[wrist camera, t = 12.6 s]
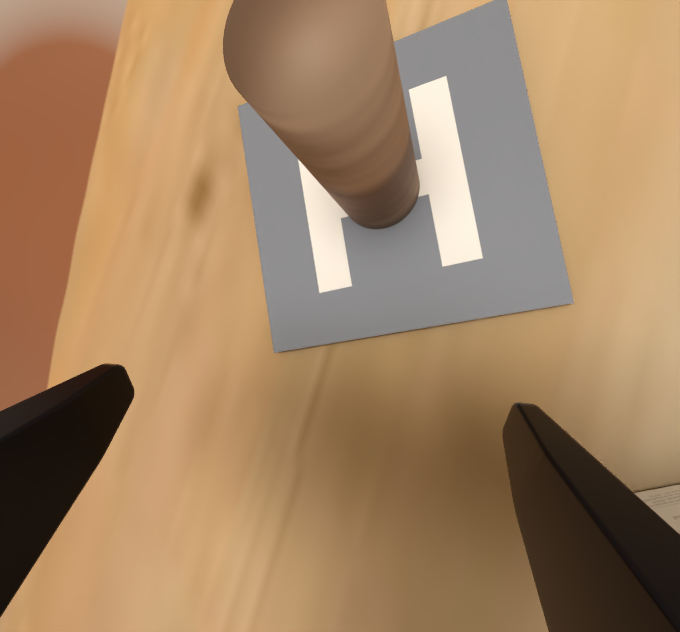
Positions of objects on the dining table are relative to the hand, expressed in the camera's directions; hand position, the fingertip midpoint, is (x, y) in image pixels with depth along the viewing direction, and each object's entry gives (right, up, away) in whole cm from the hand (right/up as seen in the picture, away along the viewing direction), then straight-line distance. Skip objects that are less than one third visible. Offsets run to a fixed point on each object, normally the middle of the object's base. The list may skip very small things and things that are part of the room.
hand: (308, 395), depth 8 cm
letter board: (+3, +9, +12) cm, 15 cm away
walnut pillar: (+3, +9, +11) cm, 15 cm away
